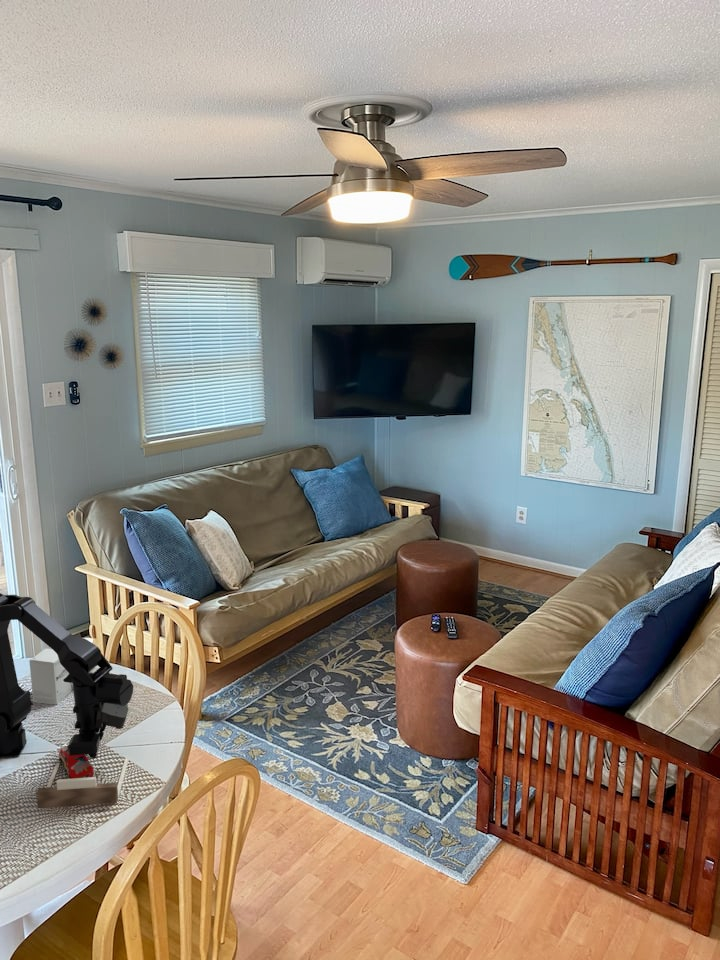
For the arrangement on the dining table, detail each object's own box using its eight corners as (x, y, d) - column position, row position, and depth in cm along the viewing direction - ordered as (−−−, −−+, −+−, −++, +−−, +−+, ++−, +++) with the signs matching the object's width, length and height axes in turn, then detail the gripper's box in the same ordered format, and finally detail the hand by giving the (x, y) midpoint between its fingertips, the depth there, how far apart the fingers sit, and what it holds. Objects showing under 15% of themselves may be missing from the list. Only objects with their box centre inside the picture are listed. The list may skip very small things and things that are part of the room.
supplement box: (56, 705, 195) (53, 662, 192) (32, 702, 197) (28, 659, 194) (72, 691, 202) (69, 650, 199) (48, 688, 204) (45, 647, 201)
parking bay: (37, 808, 156) (35, 784, 155) (56, 764, 171) (54, 741, 170) (116, 802, 159) (115, 778, 157) (128, 759, 173) (127, 737, 172)
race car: (96, 780, 166) (95, 765, 165) (72, 789, 163) (70, 773, 162) (81, 751, 176) (79, 736, 175) (57, 758, 173) (56, 744, 172)
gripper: (116, 718, 159) (122, 779, 163) (130, 675, 177) (135, 731, 181) (63, 722, 158) (71, 784, 162) (82, 678, 176) (88, 735, 180)
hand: (94, 757), depth 171 cm, fingers closed
